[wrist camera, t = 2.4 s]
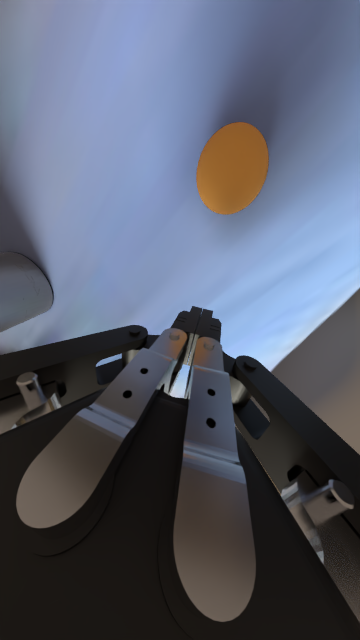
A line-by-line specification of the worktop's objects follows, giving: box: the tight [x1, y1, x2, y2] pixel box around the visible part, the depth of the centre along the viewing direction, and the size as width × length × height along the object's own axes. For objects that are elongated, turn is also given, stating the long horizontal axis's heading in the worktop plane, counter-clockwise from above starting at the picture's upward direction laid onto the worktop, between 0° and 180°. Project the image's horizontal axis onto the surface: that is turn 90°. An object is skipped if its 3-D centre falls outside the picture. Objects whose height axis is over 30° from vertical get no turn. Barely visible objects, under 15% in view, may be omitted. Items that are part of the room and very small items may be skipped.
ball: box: [196, 122, 269, 214], centre depth 12 cm, size 5×5×5 cm
